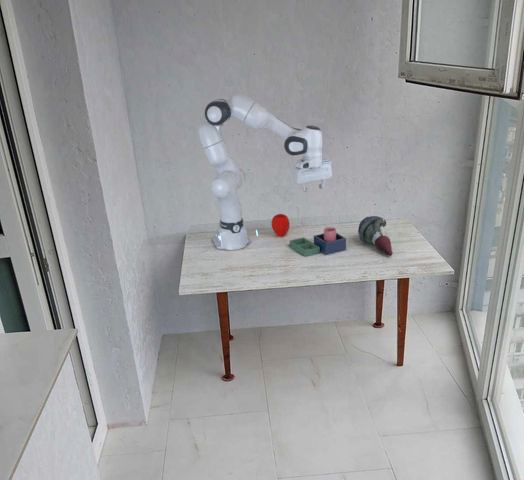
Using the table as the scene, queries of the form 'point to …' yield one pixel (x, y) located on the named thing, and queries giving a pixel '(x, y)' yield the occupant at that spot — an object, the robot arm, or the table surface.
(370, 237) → the figurine
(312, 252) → the rack
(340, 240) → the navy blue open box
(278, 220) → the red rounded egg shape
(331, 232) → the cup
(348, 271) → the table surface
